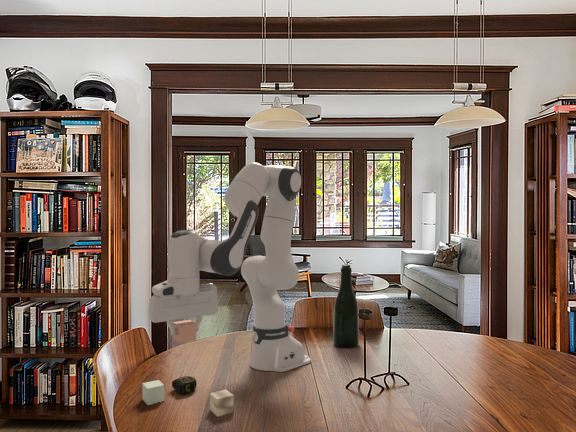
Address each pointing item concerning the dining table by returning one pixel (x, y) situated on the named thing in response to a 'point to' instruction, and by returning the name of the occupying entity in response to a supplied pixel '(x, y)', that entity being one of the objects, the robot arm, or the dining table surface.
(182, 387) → the tape measure
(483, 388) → the dining table surface
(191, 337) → the peach block
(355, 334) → the beer bottle
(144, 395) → the sage block
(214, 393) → the birch block
